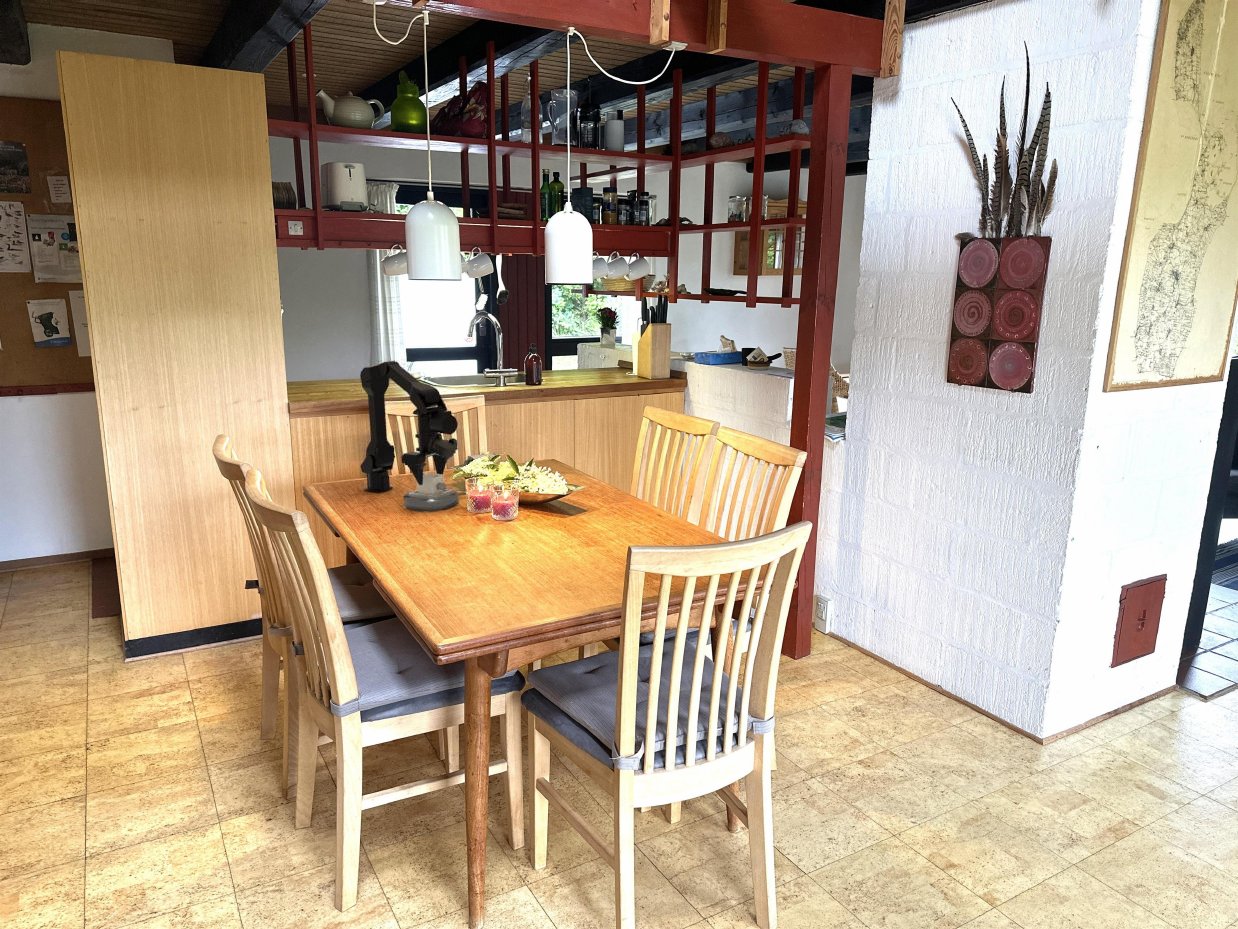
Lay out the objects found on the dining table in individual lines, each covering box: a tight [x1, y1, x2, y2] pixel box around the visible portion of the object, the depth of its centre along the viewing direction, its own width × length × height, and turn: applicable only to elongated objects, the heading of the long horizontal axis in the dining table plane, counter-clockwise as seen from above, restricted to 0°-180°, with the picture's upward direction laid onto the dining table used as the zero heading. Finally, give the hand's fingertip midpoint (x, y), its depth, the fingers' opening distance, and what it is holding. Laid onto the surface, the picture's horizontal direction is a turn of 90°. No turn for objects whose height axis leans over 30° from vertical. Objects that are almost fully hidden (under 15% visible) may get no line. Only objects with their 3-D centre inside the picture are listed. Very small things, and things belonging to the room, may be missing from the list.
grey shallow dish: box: [403, 487, 459, 512], centre depth 256 cm, size 16×16×4 cm
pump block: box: [416, 472, 447, 496], centre depth 254 cm, size 8×5×6 cm, turn 64°
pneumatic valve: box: [463, 452, 498, 467], centre depth 272 cm, size 6×12×12 cm, turn 117°
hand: (430, 481), depth 254 cm, fingers open, 9 cm apart
